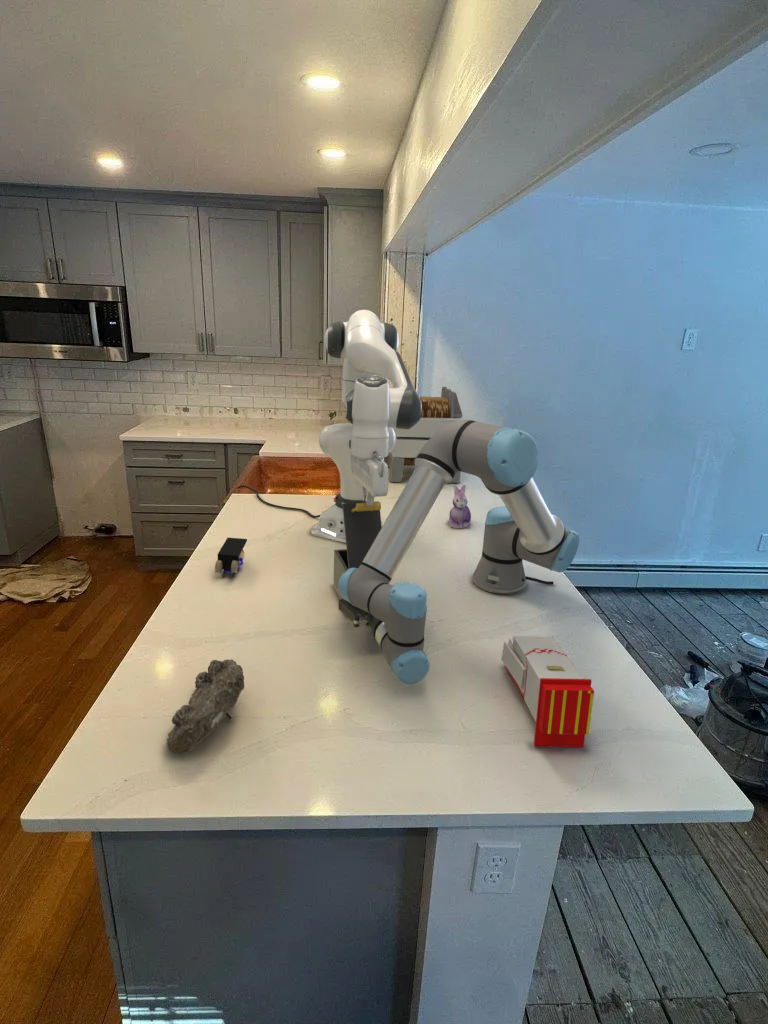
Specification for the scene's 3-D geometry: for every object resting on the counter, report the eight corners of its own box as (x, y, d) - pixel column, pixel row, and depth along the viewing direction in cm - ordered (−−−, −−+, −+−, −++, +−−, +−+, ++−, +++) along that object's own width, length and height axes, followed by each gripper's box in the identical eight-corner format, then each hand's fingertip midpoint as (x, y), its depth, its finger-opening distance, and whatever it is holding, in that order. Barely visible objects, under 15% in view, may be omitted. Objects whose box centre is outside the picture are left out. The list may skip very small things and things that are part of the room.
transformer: (382, 463, 289) (386, 382, 275) (445, 464, 293) (451, 384, 279) (390, 482, 257) (394, 392, 243) (460, 483, 261) (468, 394, 247)
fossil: (192, 660, 117) (244, 628, 112) (224, 691, 120) (276, 661, 115) (142, 746, 98) (202, 712, 93) (182, 779, 101) (242, 748, 96)
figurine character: (238, 584, 162) (249, 557, 175) (236, 562, 158) (247, 536, 172) (215, 584, 161) (227, 556, 175) (212, 561, 158) (225, 535, 171)
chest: (333, 586, 161) (334, 549, 157) (365, 582, 163) (367, 547, 160) (348, 617, 145) (349, 577, 141) (384, 612, 148) (386, 574, 144)
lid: (342, 504, 144) (349, 499, 136) (378, 502, 146) (387, 496, 139) (349, 576, 142) (356, 574, 134) (385, 572, 144) (395, 571, 137)
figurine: (456, 530, 205) (460, 491, 199) (441, 521, 213) (444, 483, 208) (477, 527, 209) (481, 488, 204) (461, 518, 217) (465, 480, 212)
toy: (550, 619, 129) (603, 686, 100) (544, 673, 132) (595, 754, 102) (497, 618, 128) (535, 685, 99) (492, 672, 131) (528, 753, 102)
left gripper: (396, 457, 125) (393, 516, 129) (371, 438, 143) (369, 490, 148) (369, 458, 123) (367, 518, 127) (346, 439, 141) (345, 492, 146)
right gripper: (341, 652, 125) (321, 604, 145) (435, 639, 132) (403, 595, 152) (342, 623, 123) (321, 577, 143) (437, 611, 129) (404, 569, 149)
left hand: (368, 503), depth 138 cm, fingers closed
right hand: (363, 586), depth 147 cm, fingers closed on chest, 9 cm apart
